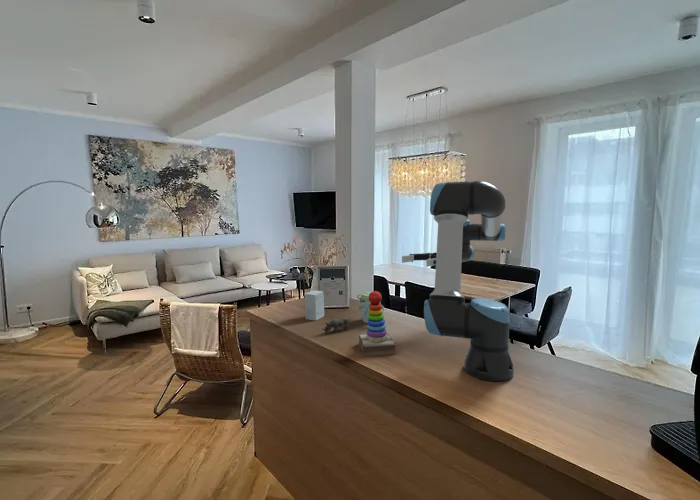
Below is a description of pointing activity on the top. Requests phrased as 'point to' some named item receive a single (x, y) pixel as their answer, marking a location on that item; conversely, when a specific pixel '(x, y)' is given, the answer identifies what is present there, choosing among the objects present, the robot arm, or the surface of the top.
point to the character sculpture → (365, 305)
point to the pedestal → (376, 346)
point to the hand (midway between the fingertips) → (414, 261)
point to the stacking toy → (376, 319)
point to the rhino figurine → (337, 324)
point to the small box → (314, 305)
